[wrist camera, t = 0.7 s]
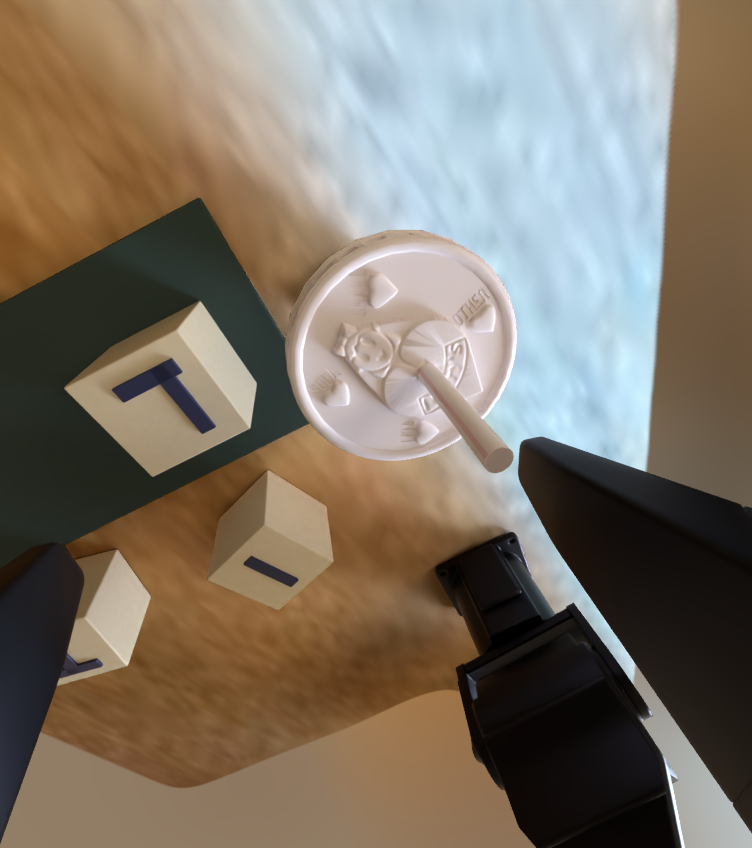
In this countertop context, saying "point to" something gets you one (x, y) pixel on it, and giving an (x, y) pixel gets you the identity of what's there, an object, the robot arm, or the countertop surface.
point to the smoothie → (403, 348)
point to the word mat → (85, 342)
